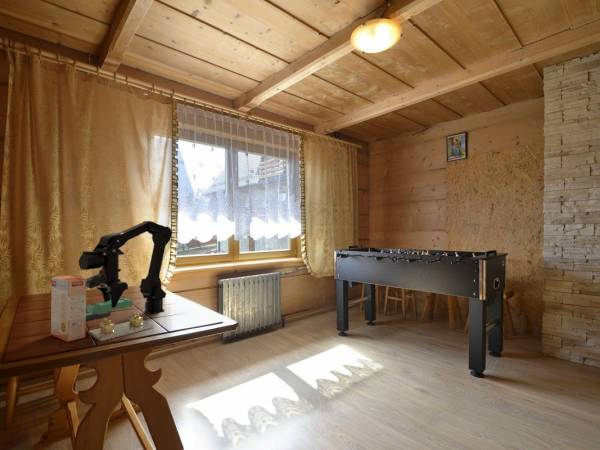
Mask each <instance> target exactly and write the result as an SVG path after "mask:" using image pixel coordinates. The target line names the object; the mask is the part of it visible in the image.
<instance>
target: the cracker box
mask: <svg viewBox="0 0 600 450" xmlns="http://www.w3.org/2000/svg"><path fill="white" fill-rule="evenodd" d="M86 279H87V278H83V277H78V276H73V275H62V276H61V275H60V276H54V277H51V300H50V301H51V305H50V306H51V307H50V308H51V313H50V314H51V316H50V317H51V318H50V319H51V321H50V335H51V336H53V337H55V338H58V339H59V340H62V341H65V342H67V343H69V342H73V341H77V340H81V339H84V338H86V337H87V336H86V333H87V332H86V331H87V329H86V328H87V325H86V323H87V322H86V308H87V286H86Z"/></svg>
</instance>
